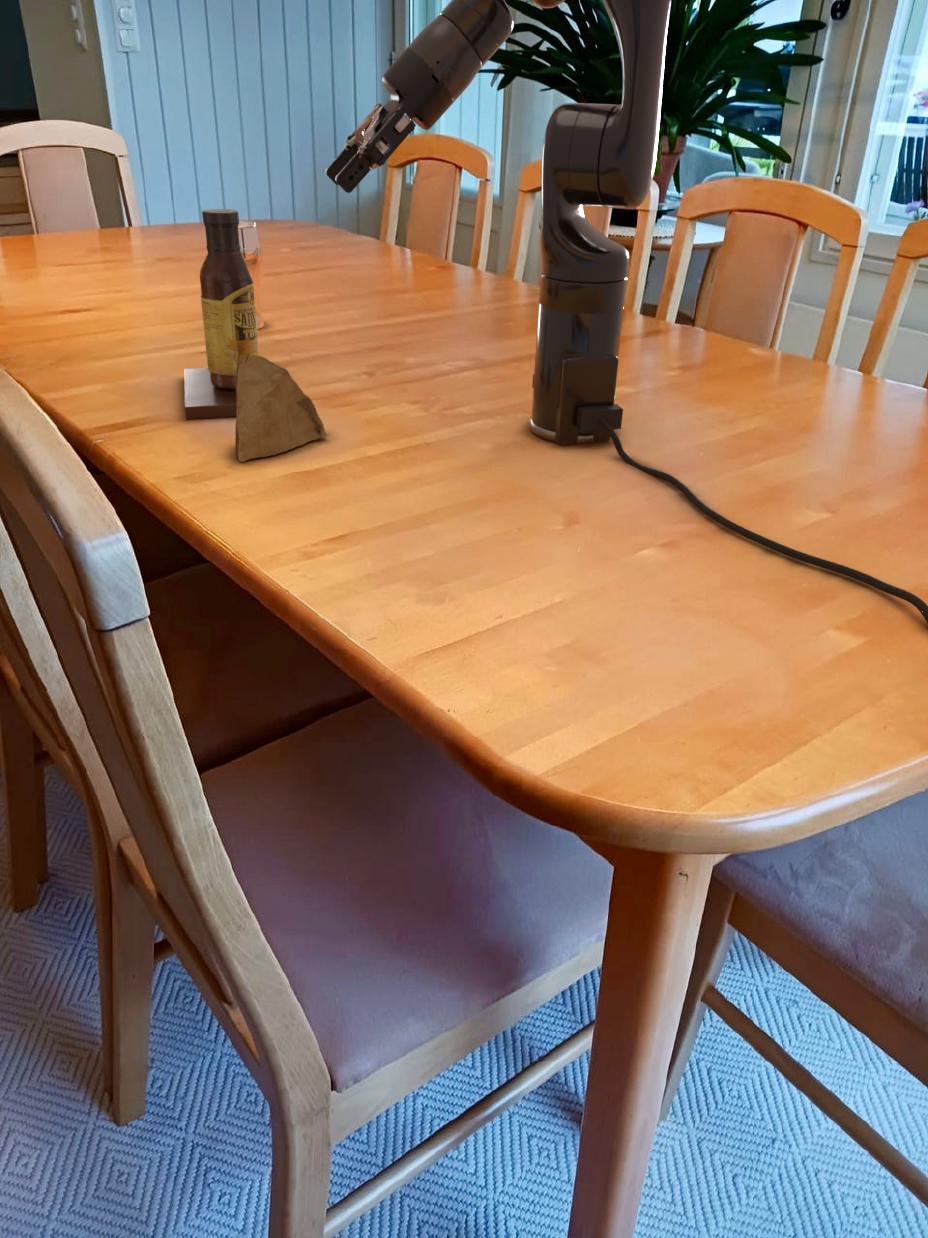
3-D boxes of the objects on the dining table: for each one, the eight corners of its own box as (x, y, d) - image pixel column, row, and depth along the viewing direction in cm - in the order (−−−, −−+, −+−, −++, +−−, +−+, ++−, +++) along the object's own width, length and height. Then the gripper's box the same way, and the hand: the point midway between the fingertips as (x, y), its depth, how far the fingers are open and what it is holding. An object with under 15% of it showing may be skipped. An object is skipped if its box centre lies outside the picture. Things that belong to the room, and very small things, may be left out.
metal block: (290, 413, 112) (289, 401, 111) (186, 419, 109) (184, 407, 108) (279, 375, 125) (278, 364, 124) (185, 380, 122) (184, 368, 121)
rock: (325, 404, 107) (235, 395, 105) (333, 357, 100) (237, 346, 97) (324, 487, 103) (231, 479, 101) (333, 444, 96) (232, 435, 93)
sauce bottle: (249, 393, 113) (232, 215, 103) (201, 389, 114) (179, 212, 104) (270, 378, 119) (256, 208, 108) (223, 374, 120) (205, 205, 110)
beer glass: (212, 327, 146) (200, 224, 139) (241, 318, 152) (231, 218, 144) (247, 333, 143) (237, 228, 136) (275, 324, 149) (267, 222, 141)
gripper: (397, 46, 111) (304, 152, 114) (423, 43, 99) (319, 162, 102) (440, 98, 115) (349, 200, 118) (470, 102, 103) (369, 215, 106)
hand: (335, 182), depth 110 cm, fingers open, 8 cm apart
